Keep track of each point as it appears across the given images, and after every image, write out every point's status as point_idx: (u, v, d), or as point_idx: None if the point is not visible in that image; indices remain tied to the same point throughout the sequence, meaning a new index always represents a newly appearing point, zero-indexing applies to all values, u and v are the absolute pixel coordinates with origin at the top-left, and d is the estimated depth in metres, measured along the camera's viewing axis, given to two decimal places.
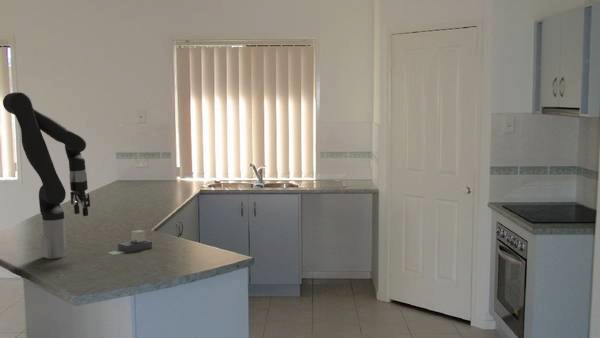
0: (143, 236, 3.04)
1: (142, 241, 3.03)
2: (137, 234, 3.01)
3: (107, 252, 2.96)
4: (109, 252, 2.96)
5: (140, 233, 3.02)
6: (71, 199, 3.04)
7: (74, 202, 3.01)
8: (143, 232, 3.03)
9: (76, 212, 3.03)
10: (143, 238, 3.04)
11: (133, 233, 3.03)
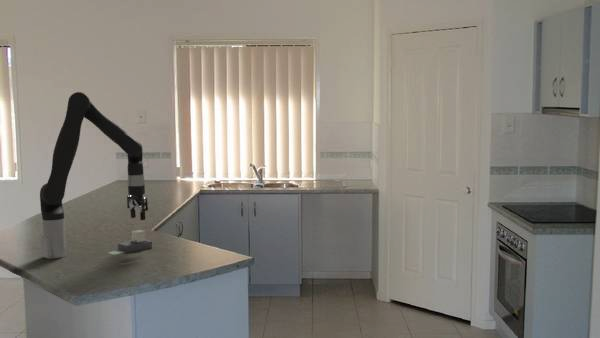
0: (143, 236, 3.04)
1: (142, 241, 3.03)
2: (137, 234, 3.01)
3: (107, 252, 2.96)
4: (109, 252, 2.96)
5: (140, 233, 3.02)
6: (128, 203, 3.06)
7: (131, 206, 3.04)
8: (143, 232, 3.03)
9: (132, 216, 3.06)
10: (143, 238, 3.04)
11: (133, 233, 3.03)
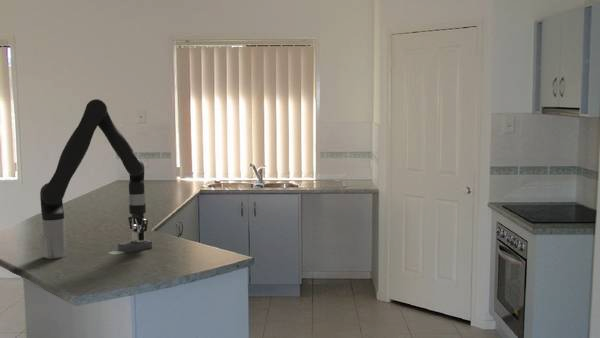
0: None
1: (142, 241, 3.03)
2: (137, 234, 3.01)
3: (107, 252, 2.96)
4: (109, 252, 2.96)
5: None
6: (130, 224, 3.06)
7: (133, 226, 3.04)
8: None
9: None
10: None
11: (133, 233, 3.03)
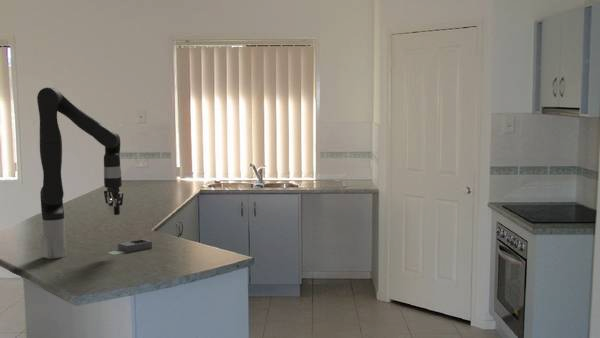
0: None
1: (118, 215, 2.93)
2: (112, 208, 2.91)
3: (107, 252, 2.96)
4: (109, 252, 2.96)
5: None
6: (105, 198, 2.96)
7: (108, 200, 2.94)
8: None
9: None
10: None
11: (108, 207, 2.93)
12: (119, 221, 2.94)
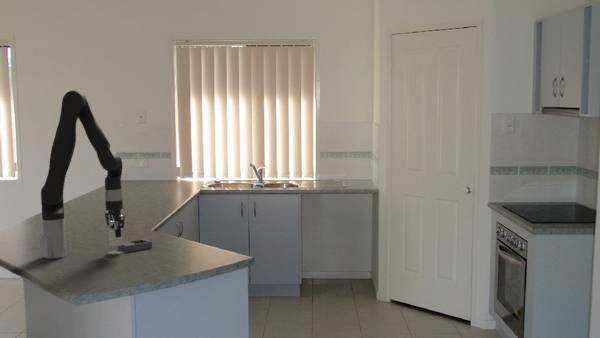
0: (121, 233, 2.95)
1: (119, 238, 2.94)
2: (114, 231, 2.92)
3: (107, 252, 2.96)
4: (109, 252, 2.96)
5: None
6: (107, 220, 2.98)
7: (110, 222, 2.95)
8: None
9: None
10: None
11: (110, 230, 2.94)
12: (121, 243, 2.95)
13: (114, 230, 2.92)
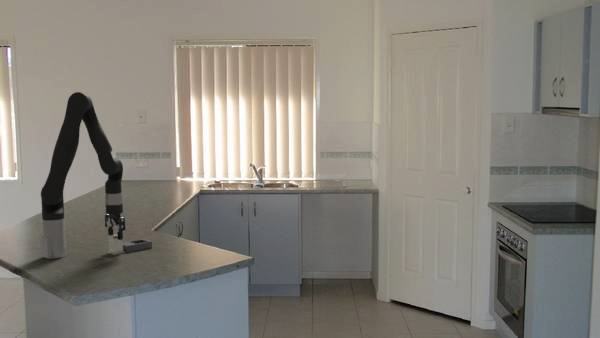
0: (121, 240, 2.95)
1: (119, 245, 2.95)
2: (114, 238, 2.93)
3: (107, 252, 2.96)
4: None
5: (117, 237, 2.94)
6: (105, 222, 2.98)
7: (108, 225, 2.96)
8: None
9: None
10: (120, 242, 2.95)
11: (110, 237, 2.94)
12: (120, 251, 2.95)
13: (114, 237, 2.93)
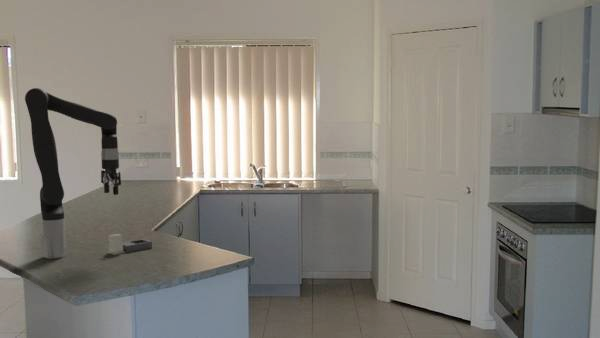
0: (121, 240, 2.95)
1: (119, 245, 2.95)
2: (114, 238, 2.93)
3: (107, 252, 2.96)
4: None
5: (117, 237, 2.94)
6: (101, 178, 3.00)
7: (104, 180, 2.98)
8: (120, 236, 2.95)
9: (106, 191, 3.00)
10: (120, 242, 2.95)
11: (110, 237, 2.94)
12: (120, 251, 2.95)
13: (114, 237, 2.93)
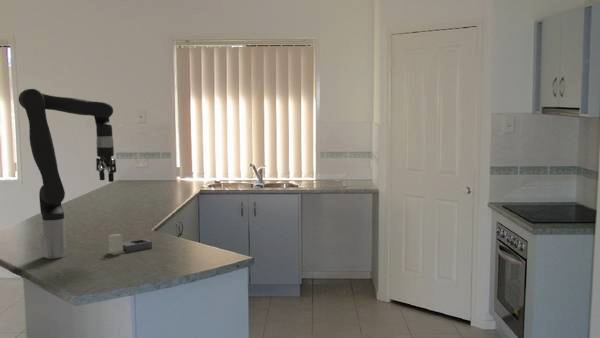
0: (121, 240, 2.95)
1: (119, 245, 2.95)
2: (114, 238, 2.93)
3: (107, 252, 2.96)
4: None
5: (117, 237, 2.94)
6: (97, 165, 3.06)
7: (100, 168, 3.04)
8: (120, 236, 2.95)
9: (101, 178, 3.06)
10: (120, 242, 2.95)
11: (110, 237, 2.94)
12: (120, 251, 2.95)
13: (114, 237, 2.93)
